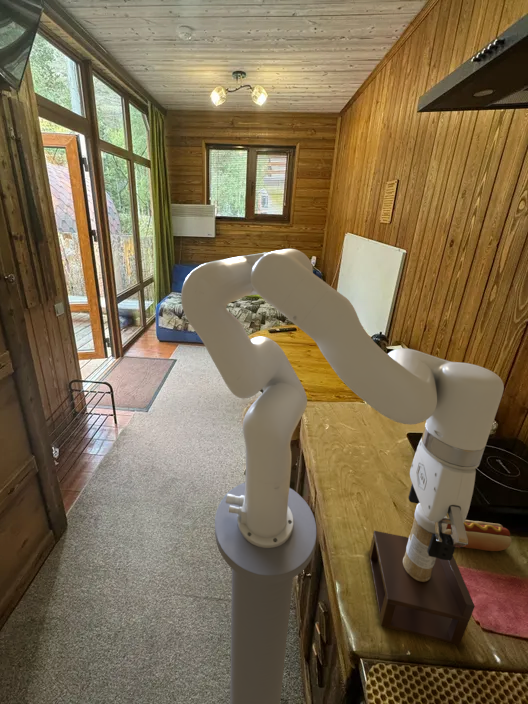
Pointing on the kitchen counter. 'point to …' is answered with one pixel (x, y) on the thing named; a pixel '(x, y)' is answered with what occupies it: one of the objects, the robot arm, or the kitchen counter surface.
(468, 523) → the food
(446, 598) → the spice rack
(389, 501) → the kitchen counter surface
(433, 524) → the sprinkles bottle
